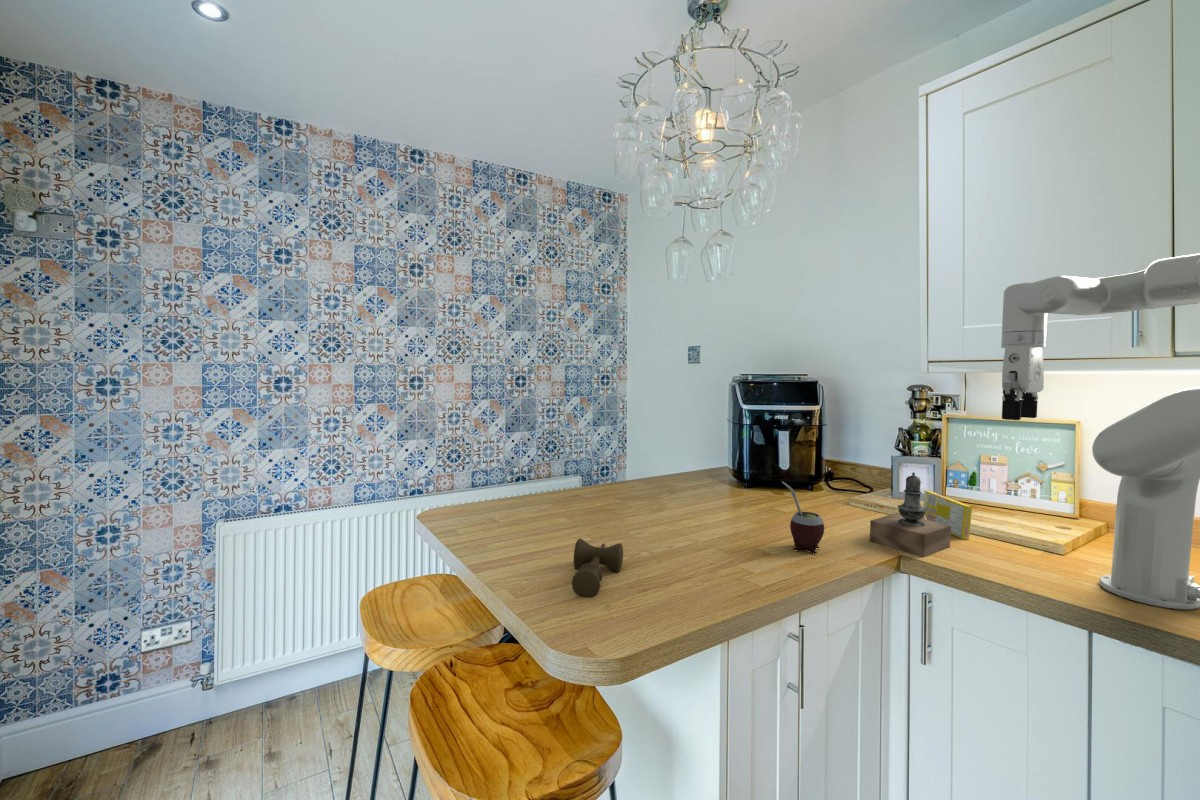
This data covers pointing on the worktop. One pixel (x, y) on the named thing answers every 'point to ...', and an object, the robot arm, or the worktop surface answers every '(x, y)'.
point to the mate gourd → (805, 528)
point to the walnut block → (910, 535)
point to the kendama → (593, 566)
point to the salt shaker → (912, 503)
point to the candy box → (948, 513)
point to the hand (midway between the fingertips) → (1019, 418)
